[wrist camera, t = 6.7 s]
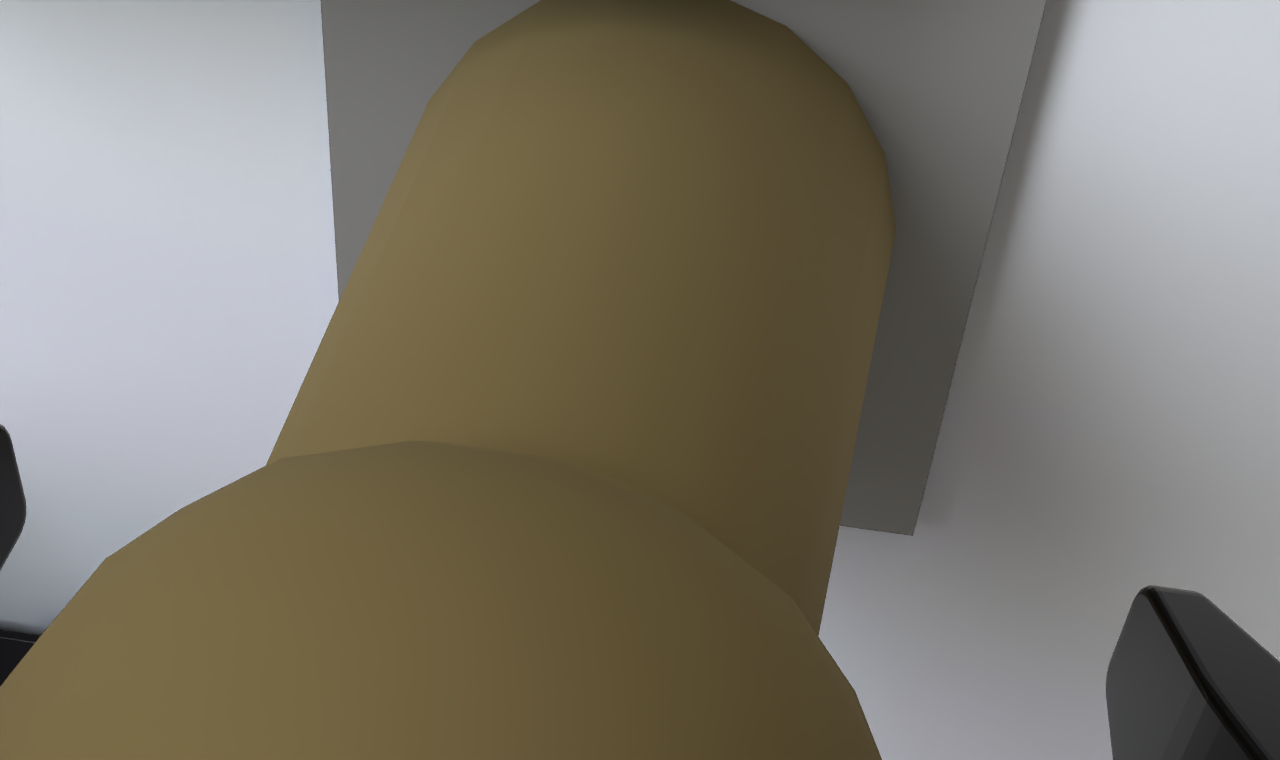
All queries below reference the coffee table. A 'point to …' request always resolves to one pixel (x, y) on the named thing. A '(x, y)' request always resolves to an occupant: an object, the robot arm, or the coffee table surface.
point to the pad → (895, 109)
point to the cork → (536, 438)
